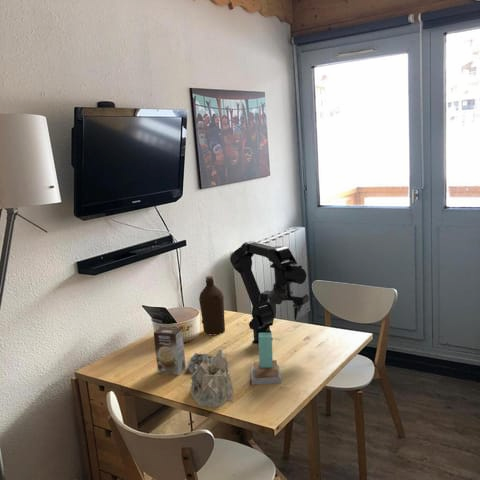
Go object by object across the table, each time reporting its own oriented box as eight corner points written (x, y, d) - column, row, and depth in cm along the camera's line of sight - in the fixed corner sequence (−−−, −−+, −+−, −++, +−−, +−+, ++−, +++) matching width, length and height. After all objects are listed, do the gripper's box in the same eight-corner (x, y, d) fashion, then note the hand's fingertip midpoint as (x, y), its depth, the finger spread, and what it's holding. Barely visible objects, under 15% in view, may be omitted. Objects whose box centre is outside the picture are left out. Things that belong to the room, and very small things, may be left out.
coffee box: (157, 373, 195) (152, 332, 192) (164, 366, 201) (160, 326, 198) (179, 375, 192) (174, 333, 189) (186, 368, 198) (182, 327, 195)
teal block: (259, 362, 186) (258, 332, 185) (272, 362, 186) (271, 332, 185) (259, 367, 182) (258, 337, 180) (272, 367, 182) (271, 336, 180)
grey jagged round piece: (201, 380, 186) (197, 341, 182) (242, 389, 179) (239, 348, 175) (176, 403, 173) (171, 362, 169) (219, 414, 165) (215, 371, 162)
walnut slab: (255, 378, 181) (254, 371, 180) (254, 368, 188) (253, 361, 188) (278, 376, 180) (277, 369, 180) (276, 366, 188) (276, 360, 188)
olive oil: (231, 328, 235) (226, 274, 231) (217, 337, 226) (212, 280, 222) (211, 326, 241) (206, 273, 236) (197, 334, 232) (192, 279, 227)
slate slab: (252, 386, 180) (251, 379, 180) (251, 373, 190) (250, 367, 190) (281, 384, 180) (280, 377, 180) (279, 371, 190) (278, 365, 189)
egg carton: (204, 374, 192) (203, 363, 191) (185, 373, 194) (184, 362, 193) (214, 361, 202) (213, 351, 201) (195, 361, 204) (194, 351, 203)
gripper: (250, 283, 199) (254, 323, 202) (295, 287, 189) (298, 328, 192) (265, 276, 208) (268, 314, 211) (308, 279, 198) (310, 318, 201)
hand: (285, 318), depth 204 cm, fingers open, 9 cm apart
